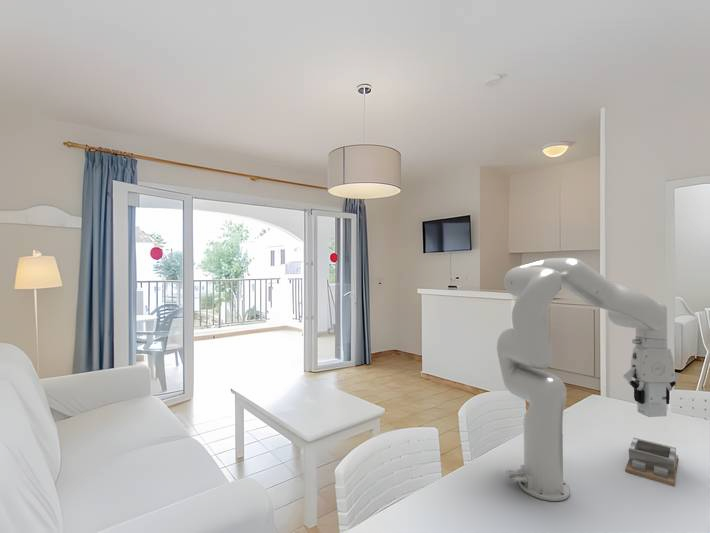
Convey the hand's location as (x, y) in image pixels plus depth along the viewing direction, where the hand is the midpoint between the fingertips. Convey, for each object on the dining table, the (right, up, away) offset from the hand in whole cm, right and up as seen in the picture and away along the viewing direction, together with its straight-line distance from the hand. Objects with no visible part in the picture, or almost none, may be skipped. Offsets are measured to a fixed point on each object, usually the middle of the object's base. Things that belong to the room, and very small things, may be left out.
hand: (651, 401), depth 114 cm
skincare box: (0, -4, 0) cm, 4 cm away
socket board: (0, -19, 0) cm, 19 cm away
